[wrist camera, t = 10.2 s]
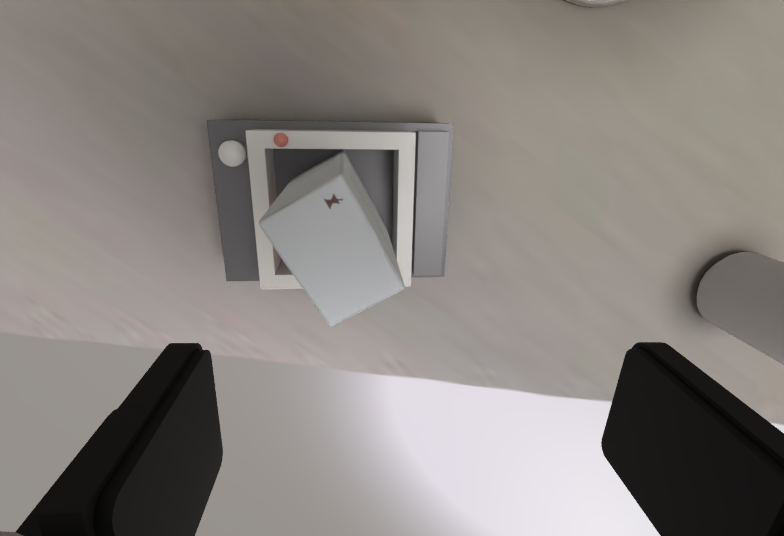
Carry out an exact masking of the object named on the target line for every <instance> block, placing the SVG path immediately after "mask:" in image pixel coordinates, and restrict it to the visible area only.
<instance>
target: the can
mask: <svg viewBox="0 0 784 536" xmlns="http://www.w3.org/2000/svg"><path fill="white" fill-rule="evenodd" d="M697 307H698V310H699V312H700V314H701V316H703V317H704V318H705V319H706V320H707V321H708V322H710V323H712V324H713V325H715V326H717V327H719V328H720V329H722V330H724V331H726V332H727V333H729V334H731V335H733V336H734V337H736V338H738V339H740V340H741V341H743V342H745V343H747V344H748V345H750V346H752V347H754V348H755V349H757V350H759V351H761V352H762V353H764V354H766V355H768V356H769V357H771V358H773V359H775V360H776V361H778V362H780V363H782V364H783V365H784V262H781V261H778V260H775V259H772V258H769V257H766V256H763V255H760V254H757V253H754V252H739V253H736V254H732V255H729V256H727V257H726V258H724V259H722V260H721V261H719V262H717V263H716V264H714V265H713V266H712V267H711V268H710V269H709V270H708V271H707V272H706V273H705V275H704V276H703V278H702V279H701V281H700V284H699V287H698V292H697Z"/></svg>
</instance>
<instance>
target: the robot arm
mask: <svg viewBox="0 0 784 536" xmlns="http://www.w3.org/2000/svg"><path fill="white" fill-rule="evenodd" d="M566 1H569V2H571V3H573V4H576V5H581V6H587V7H604V6H610V5H613V4H617V3H620V2H623V1H626V0H566ZM601 443H602V450H603V453H604V456H605V457H606V459H607V460H608V462H609V463H610V465H611V466H612V467H613V469H614V470H615V472H616V473H617V474H618V476H619V477H620V479H621V480H622V481H623V483H624V484H625V486H626V487H627V489H628V490H629V491H630V492H631V494H632V496H633V497H634V499H635V500H636V501H637V503H638V504H639V506H640V507H641V508H642V510H643V511H644V513H645V514H646V516H647V517H648V518H649V520H650V521H651V523H652V524H653V525H654V527H655V528H656V530H657V531H658V532H659V534H660V535H661V536H784V433H782V432H781V431H779V430H778V429H777V428H776V427H774V426H773V425H772V424H771V423H769V422H768V421H767V420H765V419H764V418H763V417H761V416H760V415H759V414H758V413H756V412H755V411H754V410H752V409H751V408H750V407H748V406H747V405H746V404H745V403H743V402H742V401H741V400H739V399H738V398H737V397H735V396H734V395H733V394H732V393H730V392H729V391H728V390H726V389H725V388H724V387H722V386H721V385H720V384H719V383H717V382H716V381H715V380H713V379H712V378H711V377H709V376H708V375H707V374H706V373H704V372H703V371H702V370H700V369H699V368H698V367H697V366H695V365H694V364H693V363H691V362H690V361H689V360H687V359H686V358H685V357H684V356H682V355H681V354H680V353H678V352H677V351H676V350H674V349H673V348H672V347H671V346H669V345H668V344H666V343H661V342H639V343H636V344H635V345H634V346H633V347H632V349H629V350H628V351H627V352H626V355H625V358H624V362H623V365H622V369H621V373H620V376H619V380H618V383H617V387H616V390H615V394H614V398H613V401H612V405H611V408H610V412H609V416H608V419H607V423H606V427H605V430H604V434H603V437H602V442H601ZM222 454H223V448H222V440H221V432H220V424H219V416H218V407H217V399H216V391H215V383H214V375H213V367H212V359H211V353H210V351H209V350H202V347H201V345H200V344H199V343H171V344H169V345H168V346H167V347H166V348H165V349H164V350H163V352H162V353H161V354H160V356H159V357H158V358H157V359H156V361H155V362H154V363H153V365H152V366H151V367H150V368H149V370H148V371H147V372H146V373H145V375H144V376H143V377H142V379H141V380H140V381H139V382H138V384H137V385H136V386H135V387H134V389H133V390H132V391H131V392H130V394H129V395H128V396H127V398H126V399H125V400H124V401H123V403H122V404H121V405H120V406H119V408H118V409H116V410H114V411H113V412H112V413H111V414H110V415H109V416H108V417H107V418H106V419H105V420H104V422H103V423H102V424H101V426H100V427H99V428H98V429H97V431H96V432H95V433H94V434H93V436H92V437H91V438H90V439H89V441H88V442H87V443H86V444H85V446H84V447H83V448H82V449H81V451H80V452H79V453H78V454H77V456H76V457H75V458H74V460H73V461H72V462H71V463H70V464H69V466H68V467H67V468H66V470H65V471H64V472H63V473H62V474H61V476H60V477H59V478H58V479H57V481H56V482H55V483H54V485H53V486H52V487H51V488H50V489H49V491H48V492H47V493H46V494H45V496H44V497H43V498H42V500H41V501H40V502H39V503H38V504H37V506H36V507H35V508H34V510H33V511H32V512H31V513H30V515H29V516H28V517H27V518H26V520H25V521H24V522H23V523H22V525H21V526H20V527H19V528H18V530H17V531H16V532H0V536H195V533H196V531H197V528H198V525H199V523H200V520H201V517H202V515H203V512H204V509H205V507H206V504H207V501H208V499H209V496H210V493H211V491H212V488H213V485H214V483H215V480H216V477H217V475H218V472H219V469H220V466H221V462H222V456H223V455H222Z"/></svg>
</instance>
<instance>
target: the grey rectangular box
mask: <svg viewBox="0 0 784 536" xmlns="http://www.w3.org/2000/svg"><path fill="white" fill-rule="evenodd" d="M207 126H208V134H209V142H210V150H211V158H212V167H213V175H214V183H215V191H216V199H217V207H218V215H219V223H220V231H221V239H222V247H223V255H224V263H225V271H226V280H227V281H259V280H260V288H261V290H269V289H303V288H302V287H301V285H300V284H299V282H298V281H297V280H296V278H295V277H294V275H293V274H292V273H291V271H290V270H289V268H288V267H287V266H286V264H285V263H284V261H283V260H282V258H281V257H280V255H279V254H278V252H277V251H276V249H275V248H274V246H273V245H272V244H271V242H270V241H269V239H268V238H267V236H266V235H265V233H264V232H263V230H262V229H261V227H260V226H259V221H260V219H261V218H262V217H263V215H264V214H265V213H266V212H267V210H268V209H269V208H270V206H271V205H272V204H273V202H274V201H275V200H276V199H277V197H278V196H279V195H280V194H281V192H282V191H283V190H284V188H285V187H286V186H287V185H288V183H289V182H290V181H291V180H292V179H293V178H294V177H296V176H298V175H300V174H301V173H303V172H305V171H306V170H308V169H310V168H311V167H313V166H315V165H317V164H318V163H320V162H322V161H324V160H326V159H327V158H329V157H331V156H333V155H335V154H337V153H338V152H340V151H342V150H345V152H346V154H347V155H348V157H349V159H350V161H351V163H352V164H353V166H354V168H355V170H356V171H357V173H358V175H359V177H360V179H361V180H362V182H363V184H364V186H365V187H366V189H367V191H368V193H369V195H370V196H371V198H372V200H373V202H374V204H375V205H376V207H377V209H378V211H379V213H380V215H381V217H382V219H383V220H384V222H385V225H386V229H387V232H388V235H389V238H390V241H391V244H392V247H393V250H394V253H395V256H396V259H397V262H398V266H399V269H400V273H401V276H402V279H403V282H404V285H405V286H411V277H444V272H445V255H446V239H447V222H448V206H449V189H450V172H451V156H452V139H453V124H450V123H427V122H360V121H292V120H207Z"/></svg>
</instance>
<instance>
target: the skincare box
mask: <svg viewBox="0 0 784 536" xmlns="http://www.w3.org/2000/svg"><path fill="white" fill-rule="evenodd" d="M259 226H260V227H261V229H262V230H263V232H264V233H265V235H266V236H267V238H268V239H269V241H270V242H271V244H272V245H273V246H274V248H275V249H276V251H277V252H278V254H279V255H280V257H281V258H282V260H283V261H284V263H285V264H286V266H287V267H288V268H289V270H290V271H291V273H292V274H293V275H294V277H295V278H296V280H297V281H298V282H299V284H300V285H301V287H302V288H303V289H304V291H305V292H306V294H307V295H308V297H309V298H310V299H311V301H312V302H313V304H314V305H315V307H316V308H317V310H318V311H319V312H320V314H321V315H322V317H323V318H324V320H325V321H326V323H327V324H328V326H329V327H332V326H334V325H336V324H338V323H340V322H342V321H344V320H346V319H348V318H350V317H352V316H354V315H356V314H358V313H360V312H362V311H364V310H366V309H368V308H370V307H371V306H373V305H375V304H377V303H379V302H381V301H383V300H385V299H387V298H389V297H391V296H393V295H395V294H397V293H399V292H401V291H403V290H404V289H405V285H404V282H403V279H402V276H401V273H400V269H399V266H398V262H397V259H396V256H395V253H394V250H393V247H392V244H391V241H390V238H389V235H388V232H387V229H386V225H385V222H384V220H383V219H382V217H381V215H380V213H379V211H378V209H377V207H376V205H375V204H374V202H373V200H372V198H371V196H370V195H369V193H368V191H367V189H366V187H365V186H364V184H363V182H362V180H361V179H360V177H359V175H358V173H357V171H356V170H355V168H354V166H353V164H352V163H351V161H350V159H349V157H348V155H347V154H346V152H345V150H342V151H340V152H338V153H337V154H335V155H333V156H331V157H329V158H327V159H326V160H324V161H322V162H320V163H318V164H317V165H315V166H313V167H311V168H310V169H308V170H306V171H305V172H303V173H301V174H300V175H298V176H296V177H294V178H293V179H292V180H291V181H290V182H289V183H288V185H287V186H286V187H285V188H284V190H283V191H282V192H281V194H280V195H279V196H278V197H277V199H276V200H275V201H274V202H273V204H272V205H271V206H270V208H269V209H268V210H267V212H266V213H265V214H264V215H263V217H262V218H261V219H260V221H259Z"/></svg>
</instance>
